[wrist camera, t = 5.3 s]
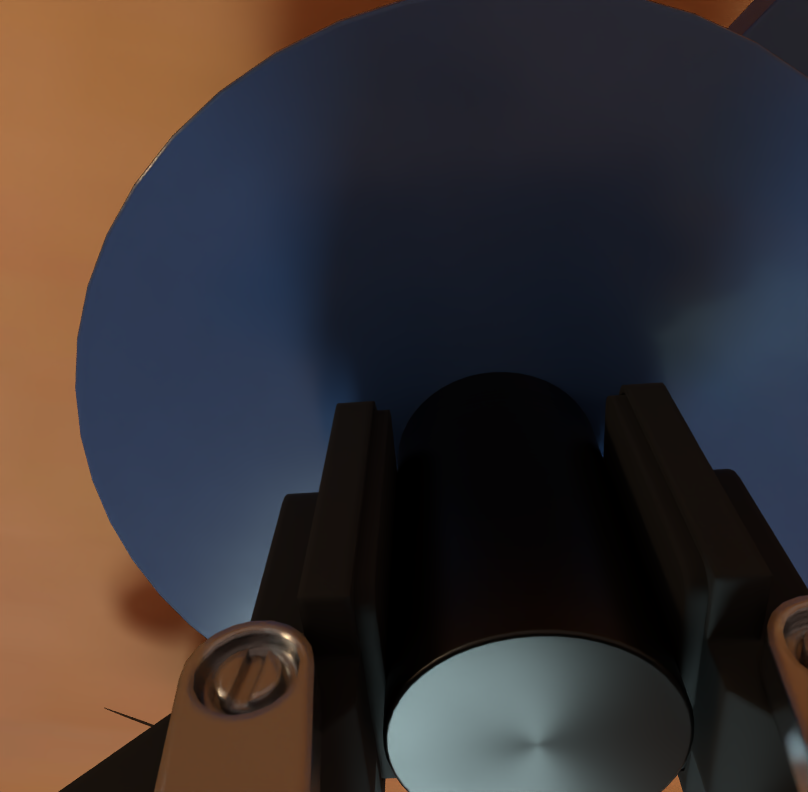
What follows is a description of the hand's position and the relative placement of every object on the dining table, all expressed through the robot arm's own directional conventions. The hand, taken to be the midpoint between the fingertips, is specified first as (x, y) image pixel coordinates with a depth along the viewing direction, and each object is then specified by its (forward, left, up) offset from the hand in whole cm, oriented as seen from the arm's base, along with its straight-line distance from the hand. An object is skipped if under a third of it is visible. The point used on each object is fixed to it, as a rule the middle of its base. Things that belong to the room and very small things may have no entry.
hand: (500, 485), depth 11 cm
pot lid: (0, 0, -1) cm, 1 cm away
